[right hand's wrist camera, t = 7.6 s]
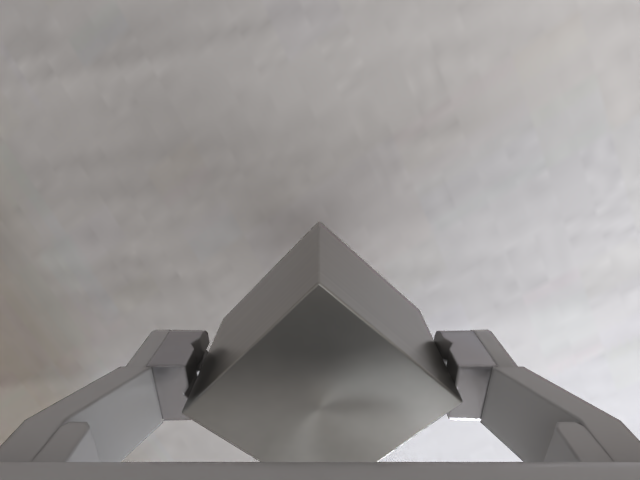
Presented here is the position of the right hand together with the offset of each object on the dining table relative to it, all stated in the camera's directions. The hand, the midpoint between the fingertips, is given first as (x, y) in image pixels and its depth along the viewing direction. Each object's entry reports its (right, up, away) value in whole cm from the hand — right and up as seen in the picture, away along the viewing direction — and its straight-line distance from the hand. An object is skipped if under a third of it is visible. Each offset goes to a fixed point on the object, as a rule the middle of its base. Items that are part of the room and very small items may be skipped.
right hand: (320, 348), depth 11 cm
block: (0, +1, +2) cm, 2 cm away
